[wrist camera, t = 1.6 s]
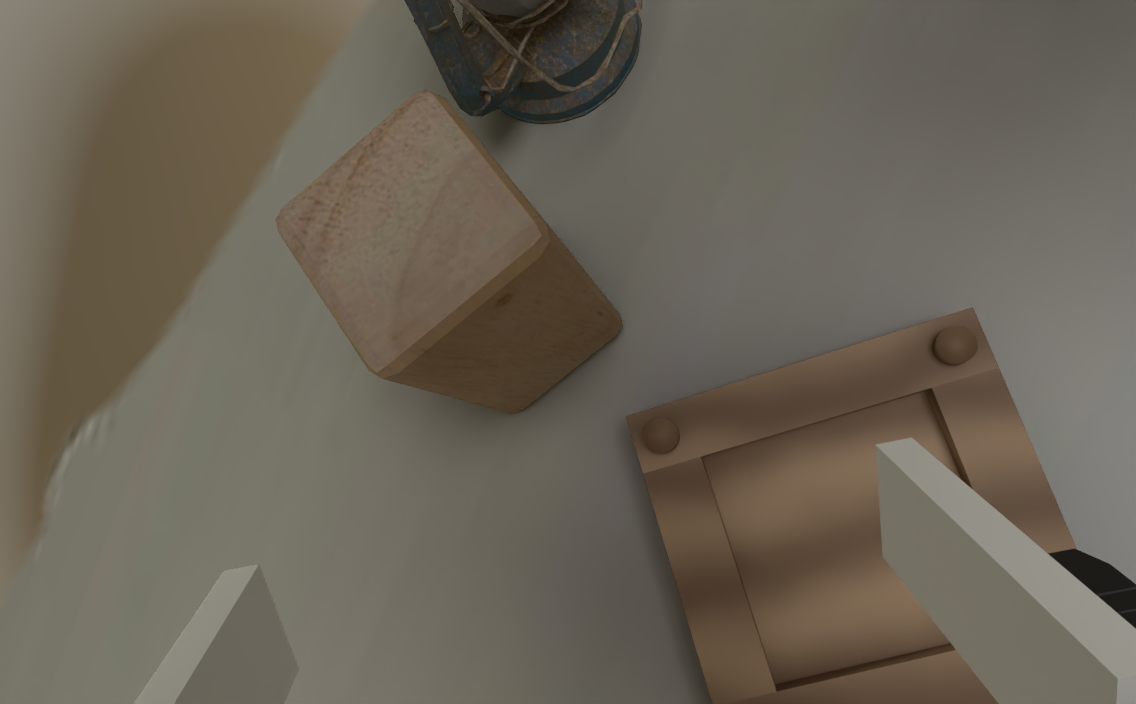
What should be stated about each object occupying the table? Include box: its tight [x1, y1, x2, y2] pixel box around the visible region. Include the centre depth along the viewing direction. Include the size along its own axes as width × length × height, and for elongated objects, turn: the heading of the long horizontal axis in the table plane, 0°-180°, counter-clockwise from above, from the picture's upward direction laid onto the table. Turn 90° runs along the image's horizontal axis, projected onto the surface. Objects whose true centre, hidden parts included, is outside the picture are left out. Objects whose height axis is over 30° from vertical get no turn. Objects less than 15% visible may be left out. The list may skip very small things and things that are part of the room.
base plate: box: [626, 307, 1077, 704], centre depth 41 cm, size 20×20×6 cm
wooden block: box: [276, 90, 622, 413], centre depth 41 cm, size 10×10×20 cm
